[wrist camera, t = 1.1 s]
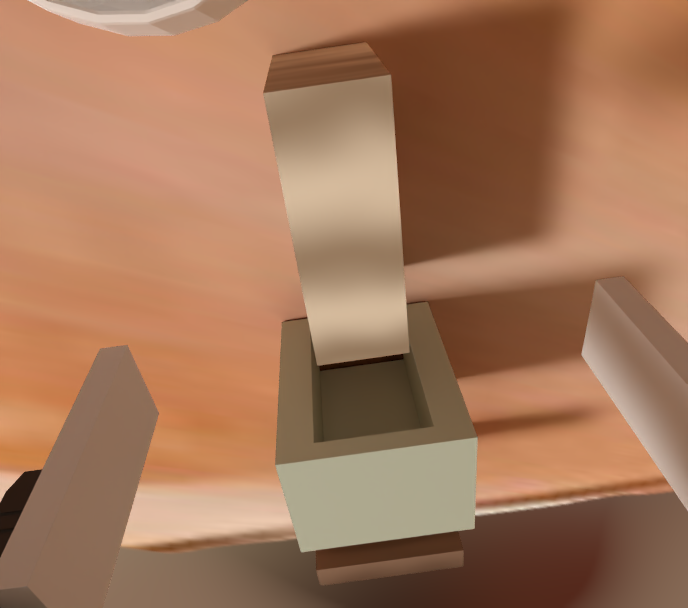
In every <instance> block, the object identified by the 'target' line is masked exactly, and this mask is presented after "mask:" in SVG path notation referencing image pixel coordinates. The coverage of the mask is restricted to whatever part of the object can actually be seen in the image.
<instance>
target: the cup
mask: <svg viewBox="0 0 688 608" xmlns="http://www.w3.org/2000/svg"><path fill="white" fill-rule="evenodd" d="M28 1H30V2H32V3H34V4H36V5H38V6H40V7H42V8H43V9H45V10H47V11H49V12H52V13H54V14H57V15H59V16H62V17H64V18H67V19H69V20H72V21H74V22H77V23H80V24H84V25H87V26H91V27H95V28H99V29H103V30H107V31H110V32H114V33H118V34H122V35H126V36H172V35H178V34H181V33H184V32H187V31H190V30H193V29H196V28H200V27H203V26H206V25H209V24H212V23H215V22H218V21H220V20H221V19H222V18H224V17H225V16H227V15H228V14H229V13H231V12H232V11H234V10H235V9H236V8H238V7H239V6H241V5H242V4H243V3H245V2H246V1H247V0H28Z"/></svg>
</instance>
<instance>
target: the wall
mask: <svg viewBox="0 0 688 608" xmlns="http://www.w3.org/2000/svg"><path fill="white" fill-rule="evenodd" d="M462 566H463V547H462V543H461V540H460V536H459V533H458V531H453V532H446V533H438V534H431V535H424V536H416V537H409V538H402V539H394V540H387V541H380V542H372V543H365V544H358V545H350V546H343V547H336V548H328V549H321V550H316V571H317V575H318V578H319V582H320V585H321V586H323V585H330V584H338V583H345V582H352V581H360V580H367V579H374V578H381V577H388V576H396V575H404V574H411V573H419V572H426V571H433V570H440V569H448V568H455V567H462Z"/></svg>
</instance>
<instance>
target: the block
mask: <svg viewBox="0 0 688 608" xmlns="http://www.w3.org/2000/svg"><path fill="white" fill-rule="evenodd" d="M406 307H407V322H408V337H409V352H410V353H404V354H403V360H396V361H389V362H381V363H374V364H367V365H360V366H353V367H346V368H338V369H331V370H324V371H320V368H319V366H317V362H316V357H315V352H314V347H313V342H312V337H311V332H310V327H309V322H308V318H307V319H300V320H293V321H286V322H282V331H281V352H280V374H279V395H278V417H277V438H276V460H275V466H276V469H277V473H278V476H279V480H280V483H281V486H282V490H283V493H284V496H285V500H286V503H287V506H288V510H289V513H290V516H291V520H292V523H293V526H294V530H295V533H296V536H297V540H298V543H299V547H300V550H301V552H306V551H314V550H321V549H328V548H336V547H343V546H350V545H358V544H365V543H372V542H380V541H387V540H394V539H402V538H409V537H416V536H424V535H431V534H438V533H446V532H453V531H460V530H468V529H474V528H475V499H476V469H477V440H478V437H477V434H476V432H475V429H474V426H473V424H472V421H471V418H470V415H469V413H468V410H467V407H466V405H465V402H464V399H463V396H462V394H461V391H460V388H459V385H458V383H457V380H456V377H455V375H454V372H453V369H452V366H451V364H450V361H449V358H448V356H447V353H446V350H445V347H444V345H443V342H442V339H441V337H440V334H439V331H438V328H437V326H436V323H435V320H434V318H433V315H432V312H431V309H430V307H429V304H428V302H422V303H414V304H407V305H406Z"/></svg>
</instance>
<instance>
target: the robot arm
mask: <svg viewBox="0 0 688 608" xmlns="http://www.w3.org/2000/svg"><path fill="white" fill-rule="evenodd" d="M582 357H583V358H584V359H585V361H586V362H587V364H588V365H589V367H590V368H591V370H592V371H593V373H594V374H595V376H596V377H597V379H598V380H599V381H600V383H601V384H602V386H603V387H604V389H605V390H606V392H607V393H608V395H609V396H610V398H611V399H612V401H613V402H614V403H615V405H616V406H617V408H618V409H619V411H620V412H621V414H622V415H623V417H624V418H625V420H626V421H627V423H628V424H629V425H630V427H631V428H632V430H633V431H634V433H635V434H636V436H637V437H638V439H639V440H640V442H641V443H642V445H643V446H644V447H645V449H646V450H647V452H648V453H649V455H650V456H651V458H652V459H653V461H654V462H655V464H656V465H657V467H658V468H659V469H660V471H661V472H662V474H663V475H664V477H665V478H666V480H667V481H668V483H669V484H670V486H671V487H672V489H673V490H674V491H675V493H676V494H677V496H678V497H679V498H680V500H681V502H682V503H683V505H684V506H685V508H686V509H687V511H688V343H687V342H686V341H685V340H684V338H683V337H682V336H681V335H680V334H679V333H678V332H677V331H676V330H675V329H674V328H673V327H672V326H671V325H670V324H669V323H668V322H667V321H666V320H665V319H664V318H663V317H662V316H661V315H660V314H659V313H658V312H657V310H656V309H655V308H654V307H653V306H652V305H651V304H650V303H649V302H648V301H647V300H646V299H645V298H644V297H643V296H642V295H641V294H640V293H639V292H638V291H637V290H636V289H635V288H634V287H633V286H632V285H631V284H630V282H629V281H628V280H627V279H626V278H625V277H624V276H620V277H613V278H606V279H599V280H596V282H595V287H594V292H593V297H592V302H591V308H590V313H589V318H588V323H587V328H586V334H585V339H584V344H583V349H582ZM158 415H159V412H158V410H157V408H156V406H155V404H154V401H153V399H152V397H151V395H150V393H149V391H148V388H147V386H146V384H145V382H144V380H143V378H142V376H141V373H140V371H139V369H138V367H137V365H136V363H135V360H134V358H133V356H132V354H131V352H130V350H129V348H128V345H124V346H116V347H109V348H102V349H100V350H99V352H98V354H97V356H96V358H95V361H94V363H93V365H92V367H91V369H90V371H89V373H88V375H87V377H86V379H85V381H84V384H83V386H82V388H81V390H80V392H79V394H78V396H77V398H76V400H75V402H74V404H73V407H72V409H71V411H70V413H69V415H68V417H67V419H66V421H65V423H64V425H63V428H62V430H61V432H60V434H59V436H58V438H57V440H56V442H55V444H54V446H53V448H52V451H51V453H50V455H49V457H48V459H47V461H46V463H45V465H44V467H43V469H42V470H35V471H28V472H24V473H23V474H22V475H21V476H20V477H19V478H18V480H17V481H16V482H15V483H14V484H13V485H12V486H11V487H10V488H9V489H8V490H7V491H6V493H5V495H4V497H3V499H2V501H1V502H0V608H103V605H104V601H105V598H106V594H107V591H108V588H109V584H110V580H111V577H112V574H113V570H114V567H115V563H116V560H117V556H118V553H119V550H120V546H121V543H122V539H123V536H124V532H125V529H126V525H127V522H128V518H129V515H130V512H131V508H132V505H133V501H134V498H135V494H136V491H137V487H138V484H139V480H140V477H141V474H142V470H143V467H144V463H145V460H146V456H147V453H148V449H149V446H150V443H151V439H152V436H153V432H154V429H155V425H156V422H157V418H158Z"/></svg>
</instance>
